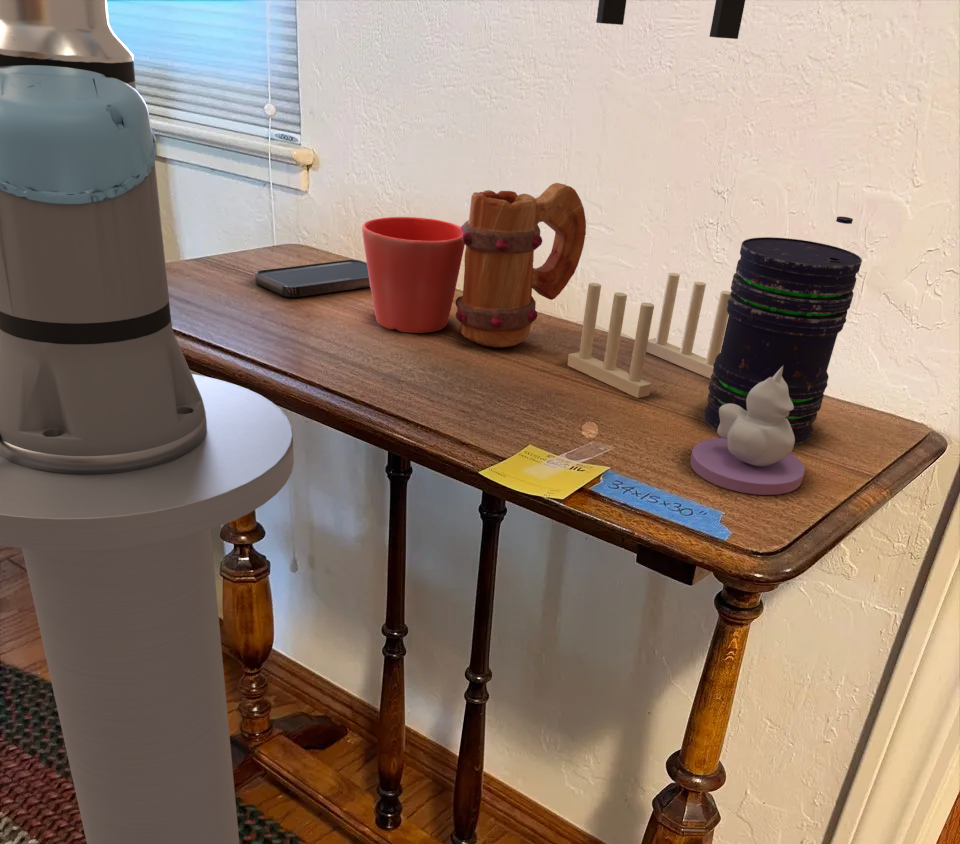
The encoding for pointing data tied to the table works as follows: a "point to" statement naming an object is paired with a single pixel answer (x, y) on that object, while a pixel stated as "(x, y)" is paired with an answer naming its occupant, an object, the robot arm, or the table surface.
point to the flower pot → (412, 271)
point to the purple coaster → (744, 470)
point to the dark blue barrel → (783, 324)
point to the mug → (515, 260)
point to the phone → (315, 278)
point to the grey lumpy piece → (760, 424)
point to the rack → (656, 346)
